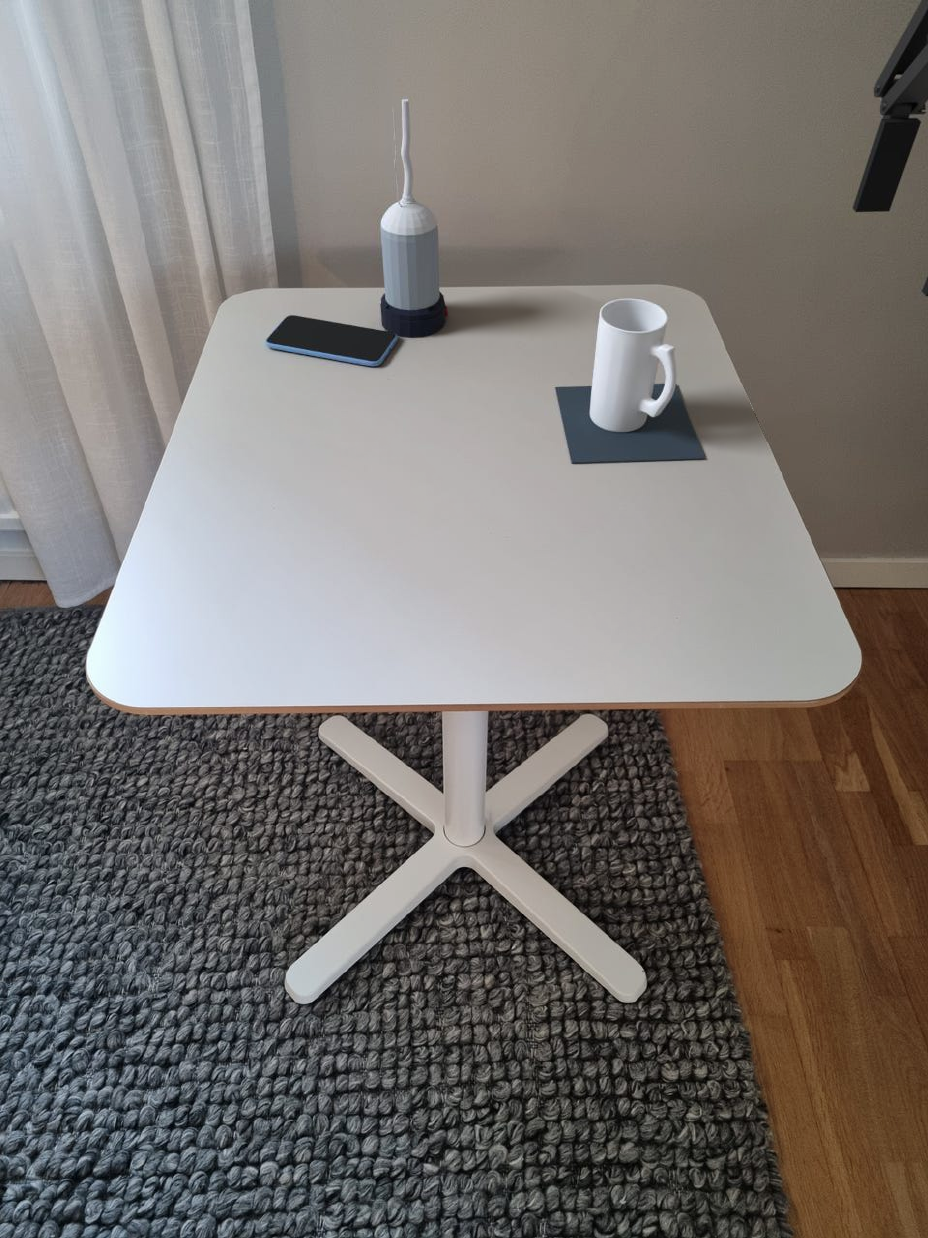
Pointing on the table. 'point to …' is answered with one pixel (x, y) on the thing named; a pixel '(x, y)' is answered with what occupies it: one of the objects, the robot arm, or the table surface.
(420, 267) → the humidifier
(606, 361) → the mug
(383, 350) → the smartphone
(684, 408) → the mat
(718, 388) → the table surface
